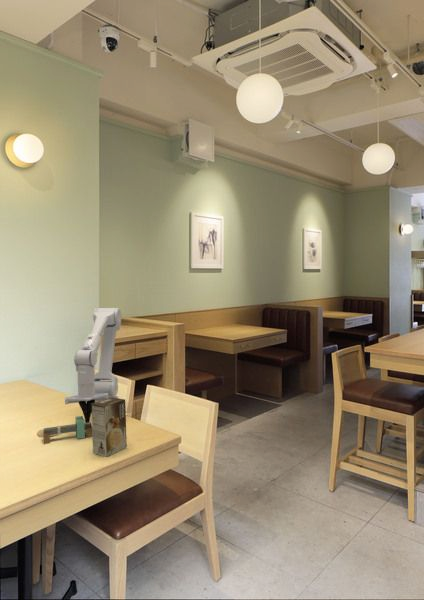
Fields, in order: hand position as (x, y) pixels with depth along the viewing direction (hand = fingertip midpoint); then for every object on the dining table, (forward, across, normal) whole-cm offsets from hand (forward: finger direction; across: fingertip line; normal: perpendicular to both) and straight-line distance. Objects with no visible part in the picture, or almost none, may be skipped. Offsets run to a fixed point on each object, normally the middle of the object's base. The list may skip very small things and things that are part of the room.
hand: (87, 421), depth 152 cm
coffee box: (+5, +5, -17) cm, 18 cm away
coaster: (+5, -12, +8) cm, 15 cm away
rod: (+5, -6, 0) cm, 8 cm away
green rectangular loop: (+5, -2, 0) cm, 5 cm away
